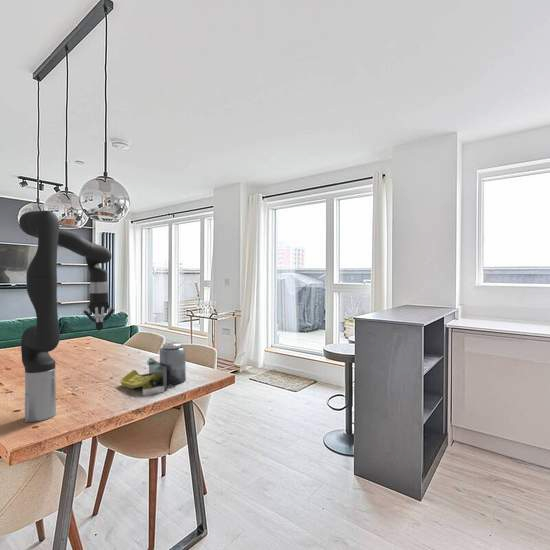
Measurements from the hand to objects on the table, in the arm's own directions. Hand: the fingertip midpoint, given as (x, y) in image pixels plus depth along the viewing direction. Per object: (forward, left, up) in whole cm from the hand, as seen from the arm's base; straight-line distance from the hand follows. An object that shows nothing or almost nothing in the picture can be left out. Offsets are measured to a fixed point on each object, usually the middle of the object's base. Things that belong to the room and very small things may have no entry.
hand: (99, 330), depth 153 cm
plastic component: (+16, -6, -27) cm, 32 cm away
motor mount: (+26, -7, -27) cm, 38 cm away
